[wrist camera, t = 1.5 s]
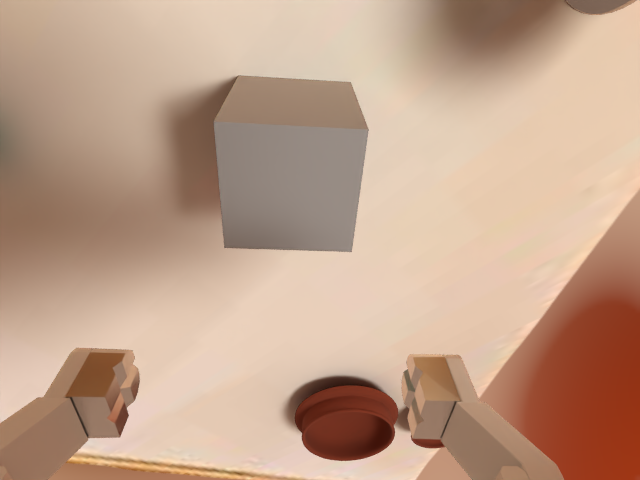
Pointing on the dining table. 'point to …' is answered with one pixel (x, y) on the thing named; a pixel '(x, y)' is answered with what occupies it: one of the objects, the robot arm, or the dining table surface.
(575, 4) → the wine glass
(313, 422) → the pottery
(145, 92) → the dining table surface
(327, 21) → the dining table surface
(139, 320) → the dining table surface
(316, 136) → the grey matte cube
